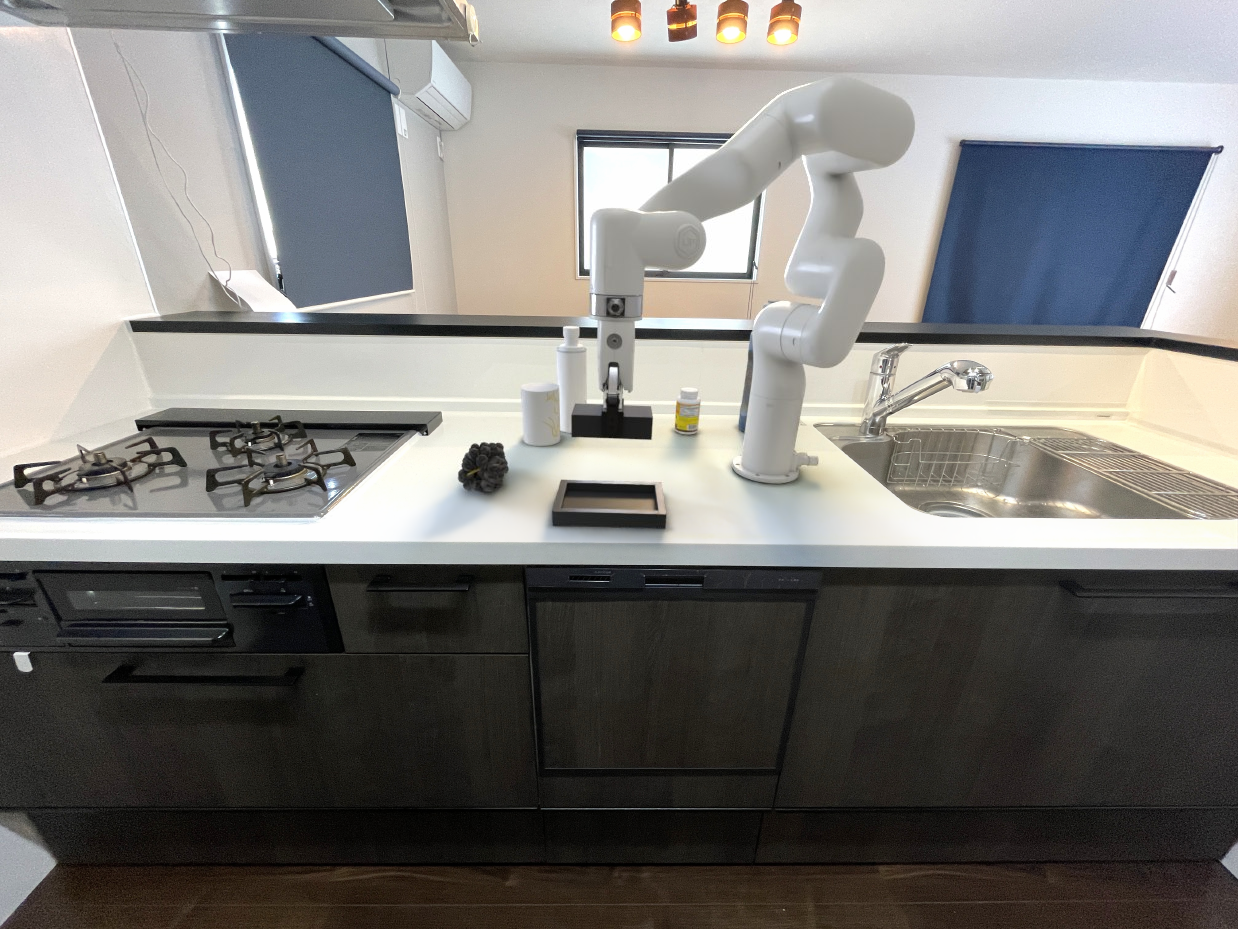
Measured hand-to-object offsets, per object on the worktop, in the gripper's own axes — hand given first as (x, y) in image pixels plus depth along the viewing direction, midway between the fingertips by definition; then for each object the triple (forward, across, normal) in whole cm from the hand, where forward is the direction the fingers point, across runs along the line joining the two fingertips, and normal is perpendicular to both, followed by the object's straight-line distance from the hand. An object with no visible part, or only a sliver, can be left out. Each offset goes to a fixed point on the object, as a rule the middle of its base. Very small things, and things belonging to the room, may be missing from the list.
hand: (612, 428), depth 76 cm
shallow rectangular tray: (+14, -1, 0) cm, 14 cm away
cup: (+14, +31, +16) cm, 37 cm away
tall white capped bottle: (+14, +39, +10) cm, 42 cm away
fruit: (+14, +9, +22) cm, 28 cm away
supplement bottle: (+14, +39, -17) cm, 44 cm away
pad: (+1, 0, 0) cm, 1 cm away
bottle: (+14, +42, -35) cm, 56 cm away
